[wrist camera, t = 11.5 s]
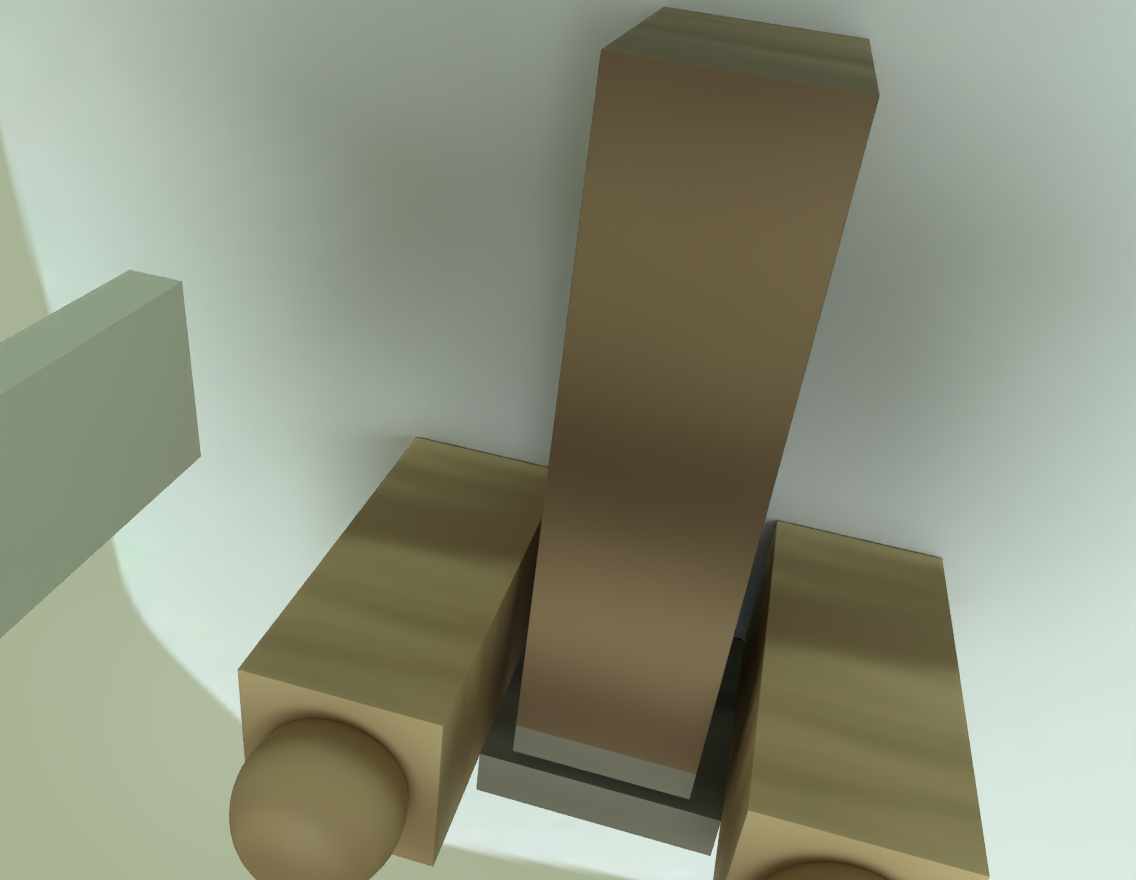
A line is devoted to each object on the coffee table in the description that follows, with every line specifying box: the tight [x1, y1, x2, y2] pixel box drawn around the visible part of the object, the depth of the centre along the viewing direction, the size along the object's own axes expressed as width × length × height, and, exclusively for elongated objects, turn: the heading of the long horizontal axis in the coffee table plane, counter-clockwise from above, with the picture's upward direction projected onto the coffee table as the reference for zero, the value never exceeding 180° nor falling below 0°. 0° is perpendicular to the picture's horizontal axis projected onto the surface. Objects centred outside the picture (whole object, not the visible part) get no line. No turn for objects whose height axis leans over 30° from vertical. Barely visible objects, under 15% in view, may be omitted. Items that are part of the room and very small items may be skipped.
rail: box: [513, 7, 879, 799], centre depth 20 cm, size 15×4×6 cm, turn 173°
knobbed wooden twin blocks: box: [229, 437, 990, 880], centre depth 21 cm, size 5×14×11 cm, turn 83°
